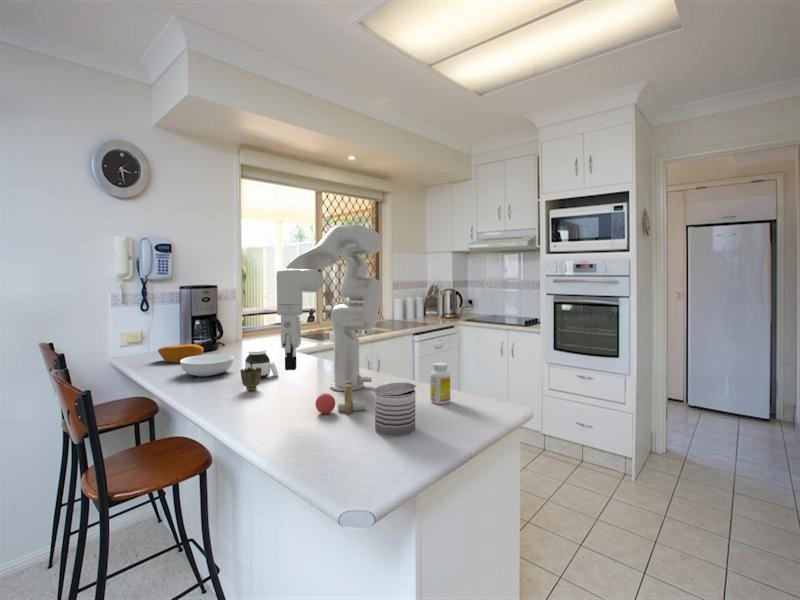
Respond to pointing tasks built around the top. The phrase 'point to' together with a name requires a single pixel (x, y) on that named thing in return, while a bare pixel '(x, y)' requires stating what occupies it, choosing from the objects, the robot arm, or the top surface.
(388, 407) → the can
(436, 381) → the supplement bottle
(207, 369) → the serving bowl
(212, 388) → the top surface
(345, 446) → the top surface
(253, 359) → the spread jar
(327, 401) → the ball
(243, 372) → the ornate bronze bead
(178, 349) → the bread
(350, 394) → the pin
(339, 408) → the front pin
